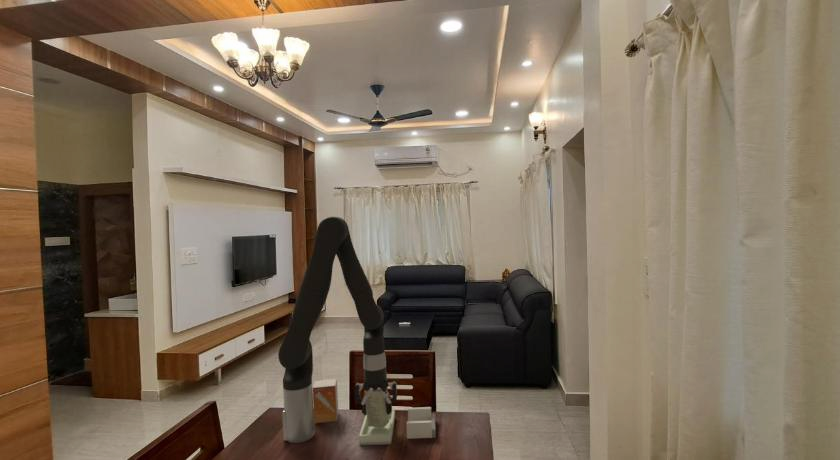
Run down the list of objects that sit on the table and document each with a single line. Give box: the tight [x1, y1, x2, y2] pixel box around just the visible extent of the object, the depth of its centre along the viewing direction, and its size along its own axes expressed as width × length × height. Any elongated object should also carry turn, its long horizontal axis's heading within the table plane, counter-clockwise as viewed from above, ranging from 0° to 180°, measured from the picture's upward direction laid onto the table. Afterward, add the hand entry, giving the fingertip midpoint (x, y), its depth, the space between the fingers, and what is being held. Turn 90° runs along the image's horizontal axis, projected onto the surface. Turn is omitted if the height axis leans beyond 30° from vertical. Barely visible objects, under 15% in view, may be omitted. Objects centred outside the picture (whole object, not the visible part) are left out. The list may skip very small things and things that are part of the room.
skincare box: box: [363, 389, 389, 428], centre depth 130 cm, size 6×4×12 cm
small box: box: [312, 378, 339, 424], centre depth 141 cm, size 8×6×13 cm
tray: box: [358, 409, 396, 446], centre depth 131 cm, size 10×16×3 cm, turn 179°
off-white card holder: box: [406, 406, 437, 440], centre depth 130 cm, size 9×10×5 cm
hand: (377, 413), depth 131 cm, fingers closed on skincare box, 7 cm apart
